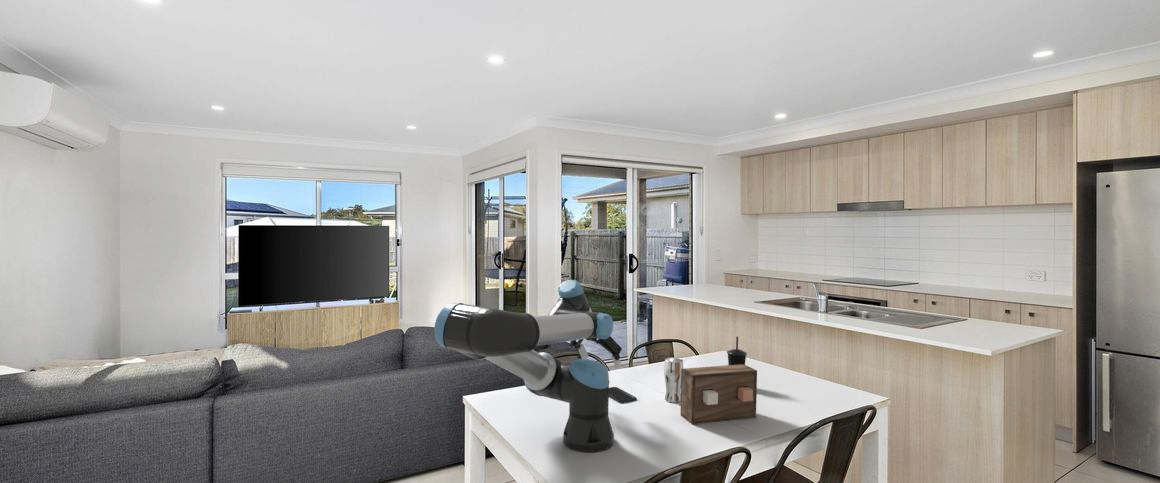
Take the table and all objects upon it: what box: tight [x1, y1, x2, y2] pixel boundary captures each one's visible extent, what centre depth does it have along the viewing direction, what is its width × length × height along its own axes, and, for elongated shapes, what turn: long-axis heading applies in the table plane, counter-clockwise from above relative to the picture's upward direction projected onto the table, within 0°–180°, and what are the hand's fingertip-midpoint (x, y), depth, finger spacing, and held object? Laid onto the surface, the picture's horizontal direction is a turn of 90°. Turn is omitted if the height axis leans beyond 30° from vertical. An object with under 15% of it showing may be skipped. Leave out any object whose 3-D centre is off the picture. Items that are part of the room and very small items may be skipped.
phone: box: [609, 386, 637, 404], centre depth 193 cm, size 8×1×15 cm
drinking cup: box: [726, 336, 748, 365], centre depth 205 cm, size 8×8×20 cm
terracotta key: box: [737, 386, 753, 402], centre depth 170 cm, size 6×4×4 cm, turn 16°
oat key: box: [702, 389, 718, 405], centre depth 167 cm, size 6×4×4 cm, turn 16°
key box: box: [680, 364, 758, 425], centre depth 173 cm, size 8×24×16 cm, turn 106°
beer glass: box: [663, 357, 684, 404], centre depth 188 cm, size 7×7×15 cm
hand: (601, 362), depth 183 cm, fingers open, 13 cm apart
